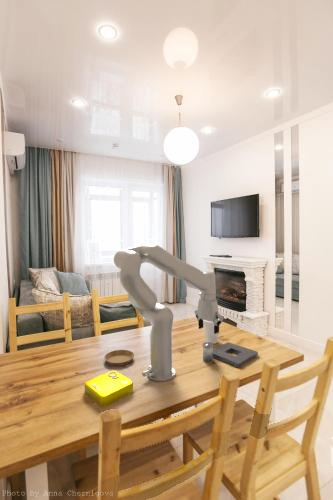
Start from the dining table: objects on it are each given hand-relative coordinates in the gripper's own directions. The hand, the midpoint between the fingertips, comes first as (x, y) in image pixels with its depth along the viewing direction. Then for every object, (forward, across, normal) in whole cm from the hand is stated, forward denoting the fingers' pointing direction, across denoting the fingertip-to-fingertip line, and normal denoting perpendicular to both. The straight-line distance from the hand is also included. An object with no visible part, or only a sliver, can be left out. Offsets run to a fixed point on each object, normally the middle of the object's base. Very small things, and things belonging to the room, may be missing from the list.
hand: (208, 330), depth 132 cm
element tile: (+15, -11, -51) cm, 54 cm away
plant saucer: (+15, -31, -33) cm, 47 cm away
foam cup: (+15, -13, +19) cm, 28 cm away
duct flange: (+15, +6, +12) cm, 20 cm away
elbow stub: (+15, 0, -1) cm, 15 cm away
